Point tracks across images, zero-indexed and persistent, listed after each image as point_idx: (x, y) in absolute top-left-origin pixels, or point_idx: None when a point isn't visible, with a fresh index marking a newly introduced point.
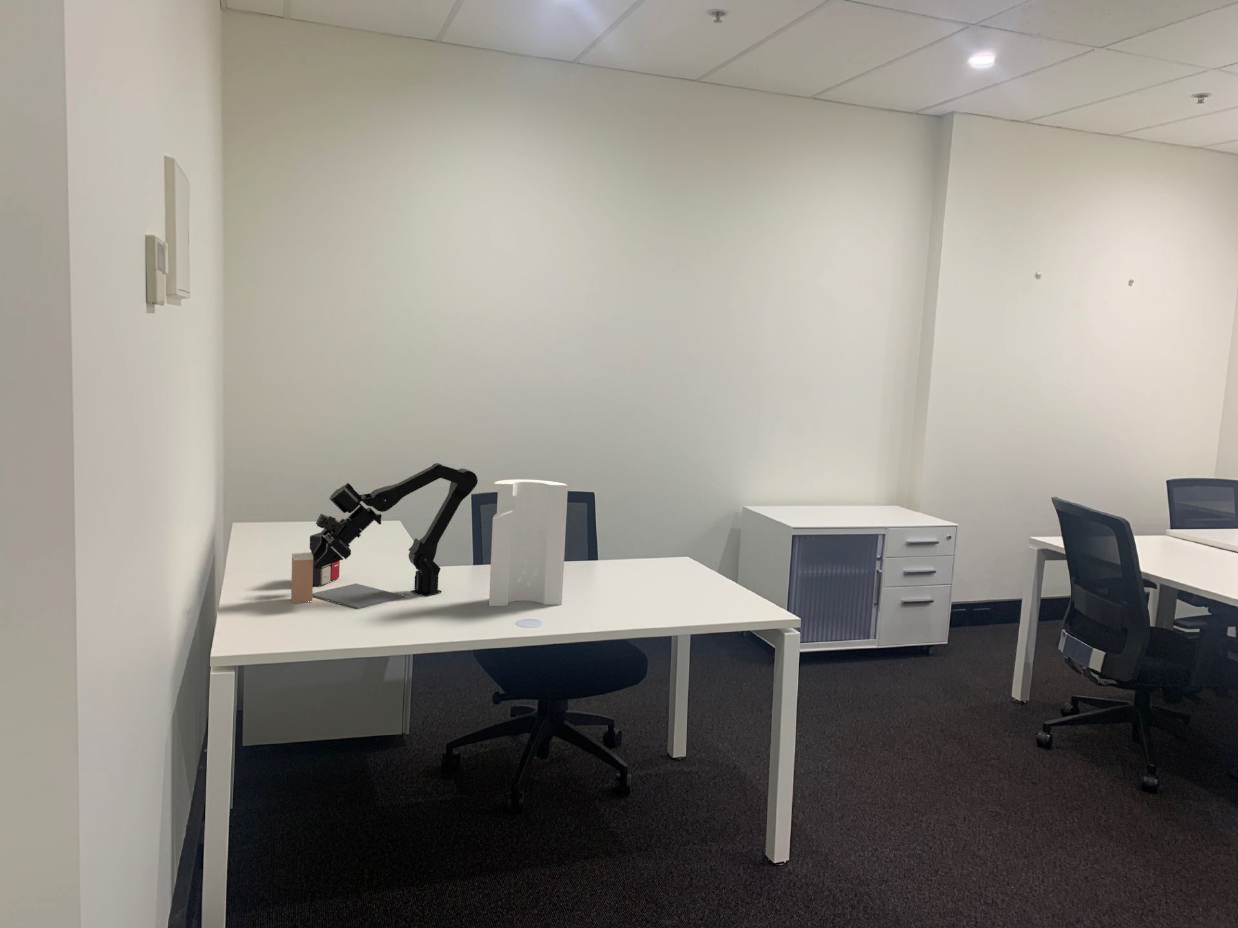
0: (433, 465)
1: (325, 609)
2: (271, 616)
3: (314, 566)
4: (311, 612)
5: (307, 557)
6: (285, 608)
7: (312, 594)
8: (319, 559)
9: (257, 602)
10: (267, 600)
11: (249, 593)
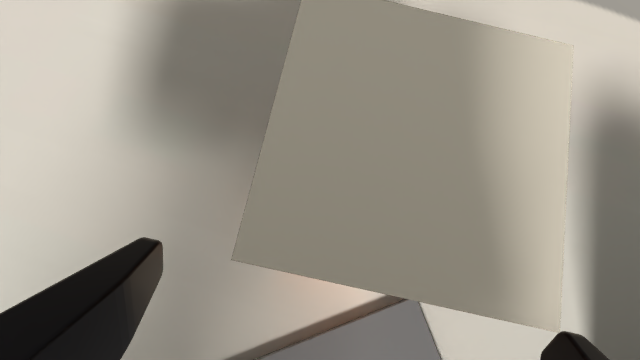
0: None
1: None
2: (123, 16)
3: (140, 242)
4: (79, 191)
5: (256, 168)
6: (221, 108)
7: (395, 309)
8: (43, 310)
9: None
10: None
11: None
